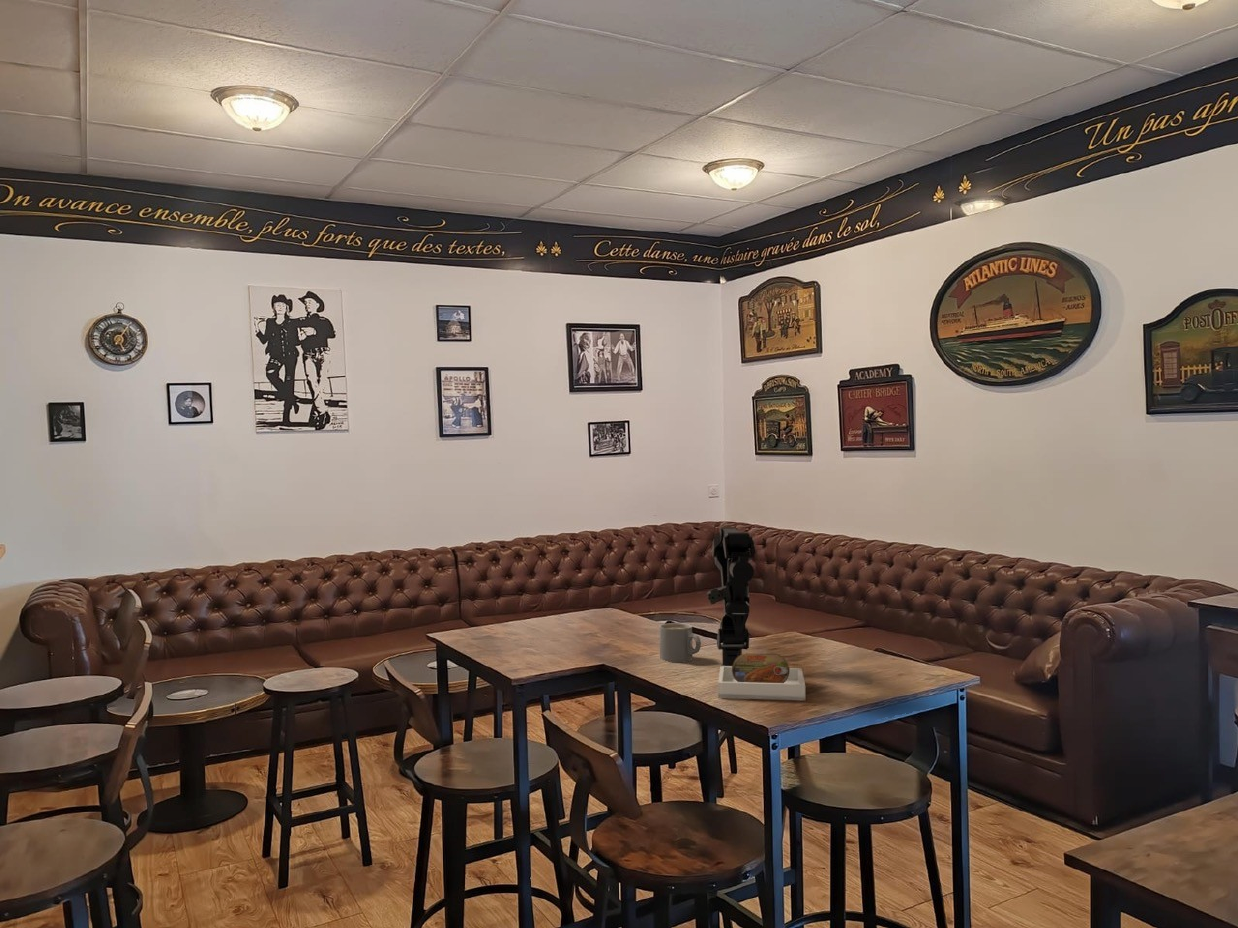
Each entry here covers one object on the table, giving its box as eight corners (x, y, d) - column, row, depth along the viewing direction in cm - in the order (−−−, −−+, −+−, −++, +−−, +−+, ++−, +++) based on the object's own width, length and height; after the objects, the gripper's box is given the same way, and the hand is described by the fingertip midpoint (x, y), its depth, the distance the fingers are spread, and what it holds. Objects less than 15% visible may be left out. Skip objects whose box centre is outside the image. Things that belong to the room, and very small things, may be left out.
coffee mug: (653, 658, 277) (653, 626, 277) (675, 653, 284) (675, 621, 284) (685, 665, 267) (684, 632, 267) (707, 660, 274) (707, 627, 274)
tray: (720, 680, 250) (720, 665, 250) (801, 682, 247) (801, 667, 247) (718, 697, 232) (718, 682, 232) (805, 700, 229) (805, 684, 229)
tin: (732, 685, 239) (731, 653, 239) (732, 682, 242) (732, 651, 242) (789, 687, 237) (789, 655, 237) (789, 684, 240) (789, 652, 240)
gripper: (710, 572, 259) (710, 626, 259) (706, 582, 241) (707, 640, 241) (749, 573, 258) (749, 627, 258) (749, 582, 239) (749, 641, 239)
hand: (738, 633), depth 249 cm, fingers open, 9 cm apart
